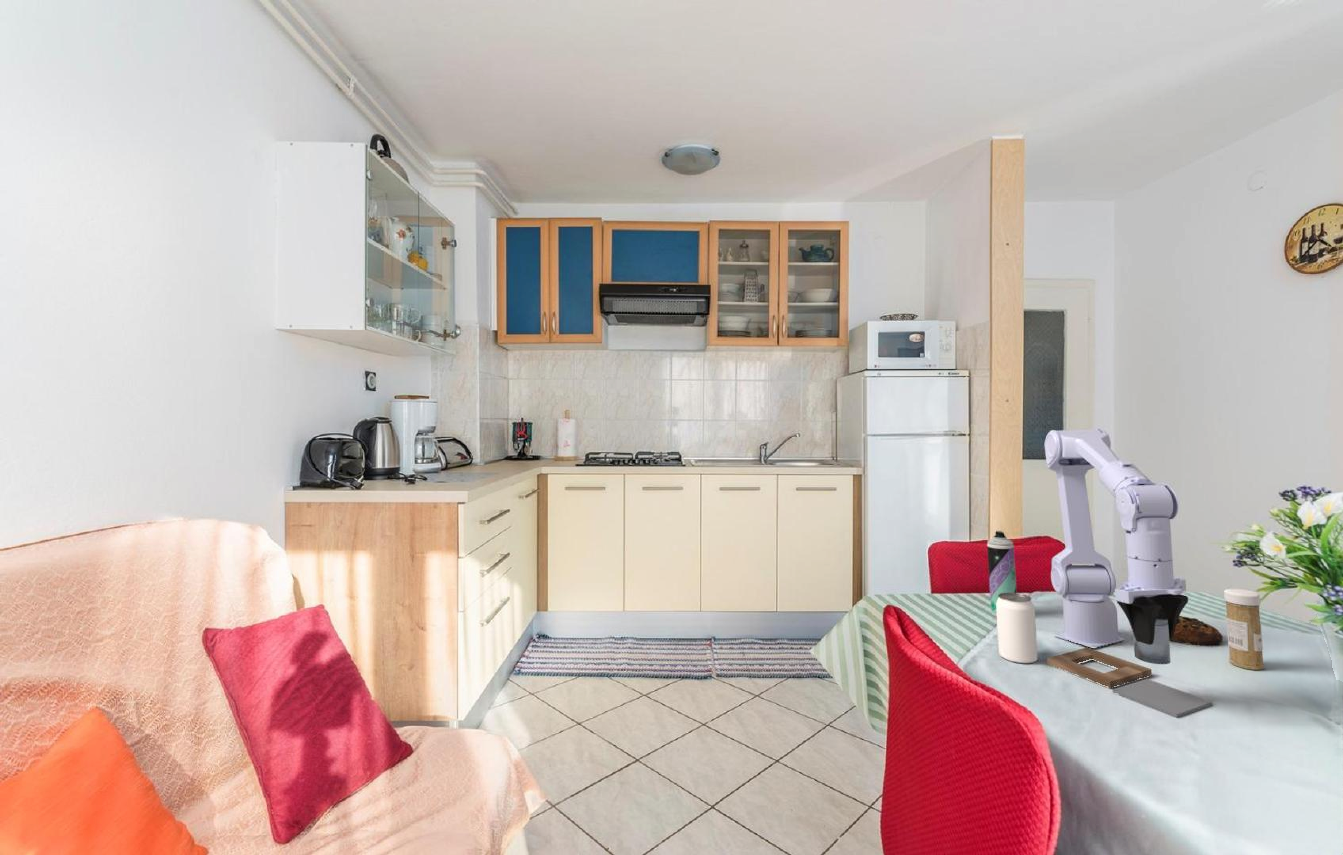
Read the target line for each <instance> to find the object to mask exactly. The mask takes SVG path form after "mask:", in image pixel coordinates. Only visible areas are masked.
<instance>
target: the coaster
mask: <svg viewBox="0 0 1343 855" xmlns="http://www.w3.org/2000/svg"><path fill="white" fill-rule="evenodd" d="M1113 692H1114V693H1113ZM1112 693H1113V694H1115V693H1118V694H1119V695H1118V694H1117V695H1118V696H1120V695H1121V697H1123V698H1125V697H1127V698H1126V699H1128V698H1129V699H1128V700H1131V701H1134V702H1136V701H1137V702H1136V703H1139V704H1141V705H1144V706H1147V707H1149V708H1151V709H1153V710H1156V711H1157V712H1161V713H1164V714H1166V715H1169V716H1171V717H1174V718H1176V719H1177V718H1179V717H1183V716H1186V715H1189V714H1191V713H1194V712H1197V711H1199V710H1201V709H1205V708H1208V707H1210V706H1213V701H1211V700H1208V699H1206V698H1203V697H1200V696H1197V695H1194V694H1191V693H1189V692H1185V691H1183V690H1180V689H1178V688H1174V687H1172V686H1169V685H1165V684H1163V683H1161V682H1157V681H1155V680H1152V679H1148V678H1144V679H1141V680H1138V681H1134V682H1133V683H1132V682H1131V683H1128V684H1125V685H1122V686H1118V687H1115V688H1112Z"/></svg>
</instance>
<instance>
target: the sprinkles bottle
mask: <svg viewBox="0 0 1343 855" xmlns="http://www.w3.org/2000/svg"><path fill="white" fill-rule="evenodd" d="M1223 592H1224V593H1223V595H1224V596H1223V598H1224V601H1225V609H1226V611H1225V612H1226V630H1227V631H1226V632H1227V643H1228V649H1229V659H1228V661H1229V663H1230V664H1231V665H1233V666H1235V667H1238V668H1242V669H1244V670H1245V669H1246V670H1252V671H1260V670H1264V669H1265V664H1264V657H1263V655H1264V654H1263V648H1264V647H1263V639H1262V638H1263V637H1262V627H1261V626H1262V625H1261V618H1260V616H1261V615H1260V605H1261V596H1260V594H1259V593H1258V592H1255V591H1252V590H1248V589H1247V590H1246V589H1241V588H1227V589H1224V591H1223Z"/></svg>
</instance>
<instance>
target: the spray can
mask: <svg viewBox="0 0 1343 855" xmlns="http://www.w3.org/2000/svg"><path fill="white" fill-rule="evenodd" d="M986 544H987V545H986V546H987V562H988V563H987V564H988V566H987V567H988V580H989V583H988V584H989V600H990V612H991V615H992V616H993V617H995V618H997V612H996V602H997V600H998V598H999V597H998V594H1000V593H1017V577H1016V562H1015V561H1016V560H1015V546H1014V542H1013V540H1010V539H1008V537H1007V536H1006V535H1005V532H1004V531H1003V530H1002V531H1001V530H995V534H994V535H993V536H992V538H990V539H988V540H987V543H986Z"/></svg>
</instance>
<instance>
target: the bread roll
mask: <svg viewBox="0 0 1343 855" xmlns="http://www.w3.org/2000/svg"><path fill="white" fill-rule="evenodd" d="M1169 641H1173V642H1178V643H1181V644H1185V643H1187V644H1186V645H1188V644H1189V645H1190V644H1191V645H1192V646H1197V647H1198V646H1200V647H1218V646H1220V645H1222V643H1223V641H1224V639H1223V634H1222V633H1221V632H1220V631H1219V630H1218V629H1217V628H1216V627H1214V626H1212V625H1210V624H1208V623H1206V622H1204V621H1201V620H1199V619H1198V618H1196V617H1188V616H1183V615H1179V618H1178V621H1177V624H1176V628H1175V632H1174V636H1173V638H1172V639H1169Z"/></svg>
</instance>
